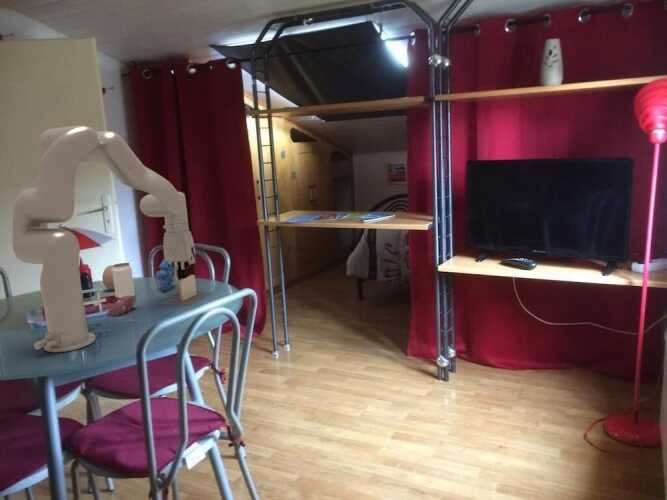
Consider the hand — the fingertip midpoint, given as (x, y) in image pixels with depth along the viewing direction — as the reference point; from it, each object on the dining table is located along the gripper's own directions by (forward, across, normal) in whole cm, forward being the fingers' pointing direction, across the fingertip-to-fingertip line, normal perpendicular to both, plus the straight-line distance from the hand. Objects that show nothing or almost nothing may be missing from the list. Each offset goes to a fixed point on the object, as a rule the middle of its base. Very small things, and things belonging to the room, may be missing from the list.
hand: (183, 279), depth 182 cm
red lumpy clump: (+6, -10, -20) cm, 23 cm away
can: (+6, -23, -3) cm, 24 cm away
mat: (+6, +3, -3) cm, 7 cm away
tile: (+6, +3, -2) cm, 7 cm away
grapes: (+6, -13, +7) cm, 16 cm away
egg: (+6, -35, +5) cm, 36 cm away
